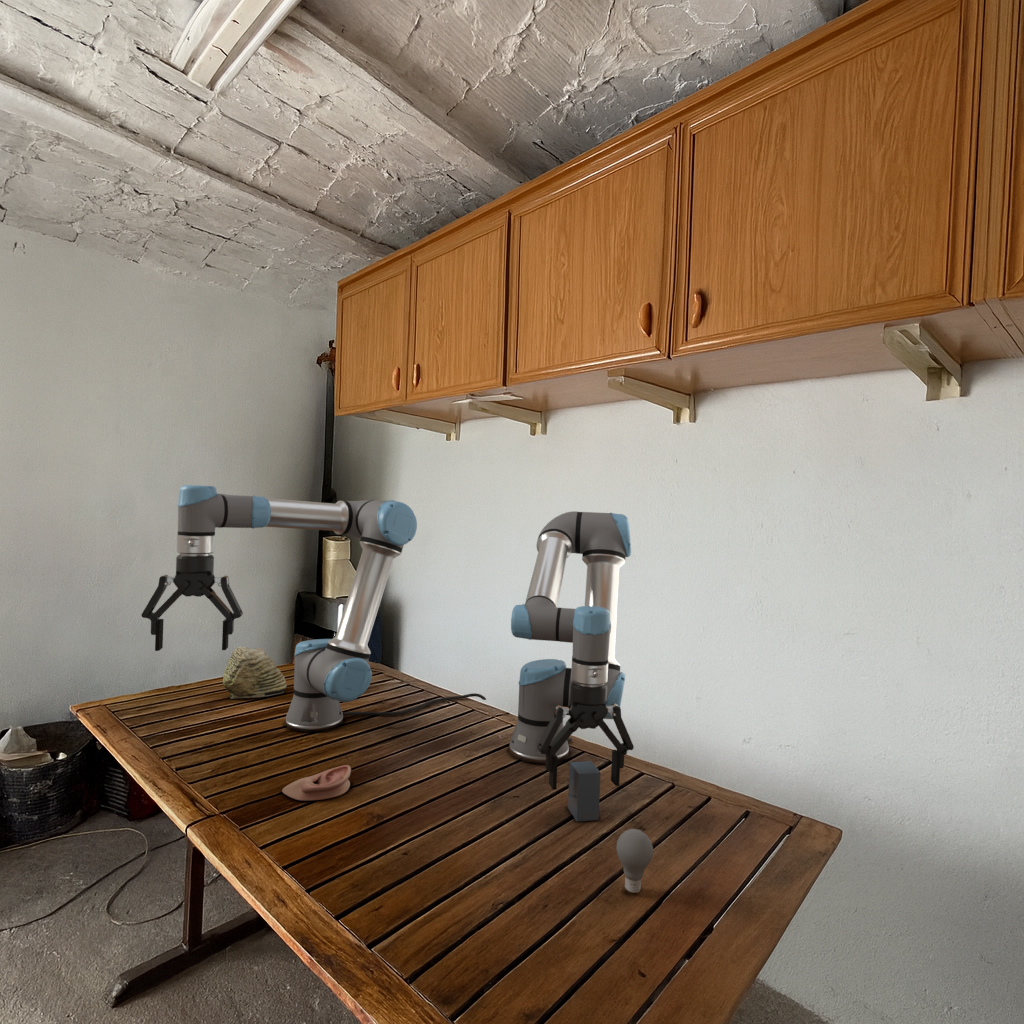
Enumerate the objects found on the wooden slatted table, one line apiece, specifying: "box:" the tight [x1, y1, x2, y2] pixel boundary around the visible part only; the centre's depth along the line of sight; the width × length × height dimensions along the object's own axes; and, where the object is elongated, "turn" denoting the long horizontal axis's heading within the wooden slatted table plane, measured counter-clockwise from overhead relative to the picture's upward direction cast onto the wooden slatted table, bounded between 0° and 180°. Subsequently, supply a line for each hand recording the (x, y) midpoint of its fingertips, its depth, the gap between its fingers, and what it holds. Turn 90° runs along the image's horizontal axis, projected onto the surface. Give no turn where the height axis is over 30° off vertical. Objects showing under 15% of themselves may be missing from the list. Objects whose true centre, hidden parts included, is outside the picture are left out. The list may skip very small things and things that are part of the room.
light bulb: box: [615, 828, 654, 894], centre depth 106 cm, size 6×6×10 cm
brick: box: [567, 760, 602, 822], centre depth 131 cm, size 5×6×10 cm
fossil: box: [222, 646, 288, 699], centre depth 198 cm, size 9×18×15 cm, turn 132°
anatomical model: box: [281, 764, 352, 802], centre depth 137 cm, size 13×4×12 cm
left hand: (192, 649), depth 141 cm, fingers open, 13 cm apart
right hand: (584, 785), depth 131 cm, fingers open, 13 cm apart
